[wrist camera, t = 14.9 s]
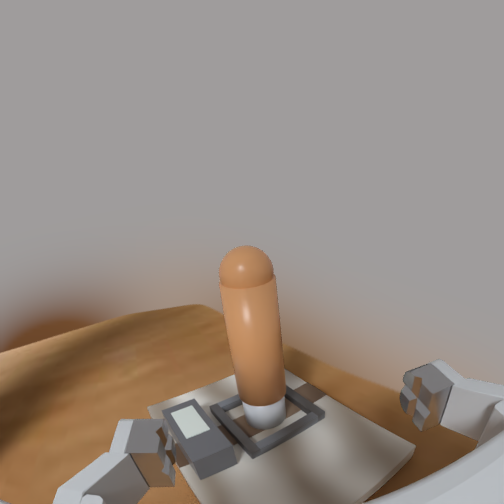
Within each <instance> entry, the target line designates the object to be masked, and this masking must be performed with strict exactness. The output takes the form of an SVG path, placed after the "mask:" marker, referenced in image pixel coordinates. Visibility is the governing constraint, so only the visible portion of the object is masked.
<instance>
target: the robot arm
mask: <svg viewBox="0 0 504 504" xmlns="http://www.w3.org/2000/svg"><path fill="white" fill-rule="evenodd" d="M403 382H404V383H405V386H404V387H403V389H402V390H401V393H400V403H401V406H402V408H403V410H404V411H405V413H406V414H409V415H412V416H413V419H412V421H413V423H414V424H415V425H416V426H417V427H418V429H419V430H420V431H421V432H422V431H425V430H427V429H429V428H432V427H434V426H436V425H438V424H440V425H441V426H444V427H446V428H448V429H451V430H453V431H455V432H458V433H460V434H462V435H465V436H467V437H469V438H472V439H474V440H477V441H478V443H477V445H476V447H475V449H474V450H473V451H471V452H470V453H468V454H467V455H465V456H463V457H462V458H460V459H458V460H456V461H455V462H453V463H451V464H449V465H448V466H446V467H444V468H442V469H440V470H438V471H436V472H435V473H433V474H431V475H429V476H427V477H425V478H423V479H420V480H418V481H416V482H414V483H412V484H410V485H408V486H405V487H403V488H401V489H398V490H396V491H394V492H391V493H389V494H386V495H384V496H381V497H379V498H376V499H373V500H370V501H368V502H365V503H362V504H504V385H500V384H495V383H490V382H484V381H480V380H475V379H471V378H467V379H465V378H464V377H462V376H461V375H460V374H459V373H458V372H456V371H455V370H454V369H453V368H452V367H450V366H449V365H448V364H447V363H446V362H444V361H443V360H441V359H438V360H435V361H433V362H430V363H428V364H426V365H423V366H420V367H418V368H415V369H412V370H410V371H407V372H406V373H405V375H404V377H403ZM168 429H169V426H168V424H167V422H166V420H165V419H121V420H120V421H119V422H118V425H117V428H116V431H115V435H114V438H113V441H112V444H111V448H110V451H109V453H104V454H102V455H101V456H100V457H99V458H97V459H96V460H95V461H93V462H92V463H91V464H90V465H88V466H87V467H86V468H84V469H83V470H82V471H80V472H79V473H78V474H76V475H75V476H74V477H72V478H71V479H70V480H68V481H67V482H66V483H64V484H63V485H62V486H60V487H59V488H58V490H57V493H56V496H55V498H54V501H53V504H137V503H138V502H139V501H140V499H141V498H142V497H143V496H144V495H145V493H146V492H147V491H148V490H149V489H150V488H149V487H175V469H174V467H173V464H174V463H175V462H176V446H175V442H174V439H173V437H172V436H171V435H170V434H168ZM0 504H11V503H8V502H6V501H3V500H0Z"/></svg>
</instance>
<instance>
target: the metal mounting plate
mask: <svg viewBox="0 0 504 504" xmlns="http://www.w3.org/2000/svg"><path fill="white" fill-rule="evenodd" d="M284 370H285V381H286V394H285V395H284V397H285V408H286V418H285V420H284V421H283V422H282V423H281V424H280V425H279V426H277V427H275V428H272V429H266V430H261V429H256V428H253V427H251V426H250V425H249V424H248V423H247V422H246V418H245V413H244V408H243V403H242V400H241V399H240V398H239V394H238V389H237V384H236V379H235V374H234V375H232V376H229V377H227V378H224V379H222V380H220V381H217V382H215V383H212V384H209V385H207V386H204V387H202V388H199V389H196V390H194V391H191V392H188V393H186V394H183V395H180V396H178V397H175V398H172V399H169V400H166V401H163V402H160V403H158V404H155V405H152V406H149V407H147V408H148V411H149V413H150V416H151V418H152V419H164V416H163V413H162V411H161V410H164V409H167V408H170V407H173V406H175V405H178V404H181V403H184V402H186V401H189V400H192V399H194V398H195V400H196V401H197V402H198V404H199V405H200V406H201V407H202V409H203V410H204V411H205V413H206V414H207V415H208V416H209V417H210V419H211V420H212V421H213V422H214V424H215V425H216V426H217V427H218V428H219V430H220V431H221V432H222V433H223V434H224V436H225V437H226V438H227V439H228V440H229V441H230V443H231V444H232V445H233V448H234V452H235V456H236V459H237V463H238V464H236V465H234V466H232V467H230V468H227V469H225V470H223V471H221V472H219V473H216V474H214V475H212V476H209V477H207V478H205V479H202V480H200V479H199V477H198V476H197V474H196V473H195V471H194V470H193V468H192V467H191V465H190V464H189V462H188V460H187V459H186V457H185V456H184V454H183V452H182V451H181V449H180V448H179V446H178V444H177V443H176V441H175V439H174V438H173V439H174V442H175V446H176V462H175V463H176V465H177V466H178V468H179V470H180V472H181V473H182V475H183V477H184V478H185V480H186V481H187V483H188V485H189V486H190V488H191V489H192V491H193V493H194V494H195V496H196V497H197V499H198V500H199V502H200V503H201V504H362V503H363V502H364V501H366V500H367V499H368V498H369V497H370V496H371V495H373V494H374V493H375V492H376V491H377V490H378V489H379V488H381V487H382V486H383V485H384V484H385V483H386V482H387V481H388V480H389V479H390V478H391V477H392V476H394V475H395V474H396V473H397V472H398V471H399V470H400V469H401V468H402V467H403V466H404V465H405V464H406V463H407V462H408V461H409V460H410V459H411V458H412V456H413V453H414V450H415V447H416V445H414V444H412V443H410V442H408V441H406V440H404V439H403V438H401V437H399V436H397V435H395V434H393V433H391V432H390V431H388V430H386V429H384V428H382V427H380V426H379V425H377V424H375V423H373V422H372V421H370V420H368V419H366V418H364V417H363V416H361V415H359V414H358V413H356V412H354V411H352V410H351V409H349V408H347V407H346V406H344V405H342V404H341V403H339V402H337V401H336V400H334V399H332V398H331V397H329V396H327V395H326V394H325V393H324V392H322V391H320V390H319V389H317V388H316V387H314V386H312V385H311V384H309V383H308V382H307V383H306V382H305V381H303V380H302V379H300V378H299V377H297V376H296V375H294V374H292V373H291V372H289V371H288V370H286V369H285V368H284ZM168 434H170V435H171V436H172V434H171V432H170V431H169V429H168ZM172 437H173V436H172Z"/></svg>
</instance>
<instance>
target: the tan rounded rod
mask: <svg viewBox="0 0 504 504" xmlns="http://www.w3.org/2000/svg"><path fill="white" fill-rule="evenodd" d="M219 277H220V282H219V286H220V293H221V299H222V305H223V311H224V317H225V323H226V329H227V335H228V340H229V346H230V352H231V357H232V363H233V368H234V373H235V379H236V384H237V389H238V394H239V398H240V399H241V400H242V403H243V408H244V413H245V418H246V422H247V423H248V424H249V425H250V426H251V427H253V428H256V429H261V430H266V429H272V428H275V427H277V426H279V425H280V424H281V423H282V422H283V421H284V420H285V418H286V408H285V397H284V395H285V394H286V381H285V370H284V359H283V348H282V337H281V327H280V316H279V306H278V297H277V286H276V277H275V275H274V274H273V266H272V263H271V260H270V259H269V257H268V256H267V255H266V254H265V253H264V252H263V251H262V250H260V249H258V248H256V247H253V246H240V247H237V248H234V249H232V250H231V251H230V252H228V253H227V254H226V256H225V257H224V258H223V260H222V262H221V264H220V268H219Z"/></svg>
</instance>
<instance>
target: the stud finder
mask: <svg viewBox="0 0 504 504" xmlns="http://www.w3.org/2000/svg"><path fill="white" fill-rule="evenodd" d="M161 411H162V413H163V416H164V419H165V420H166V422H167V424H168V426H169V431H170V432H171V434H172V436H173V438H174V439H175V441H176V443H177V444H178V446H179V448H180V449H181V451H182V452H183V454H184V456H185V457H186V459H187V460H188V462H189V464H190V465H191V467H192V468H193V470H194V471H195V473H196V474H197V476H198V477H199V479H200V480H202V479H205V478H207V477H209V476H212V475H214V474H216V473H219V472H221V471H223V470H225V469H227V468H230V467H232V466H234V465H236V464H238V463H237V459H236V456H235V452H234V448H233V445H232V444H231V443H230V441H229V440H228V439H227V438H226V437H225V436H224V434H223V433H222V432H221V431H220V430H219V428H218V427H217V426H216V425H215V424H214V422H213V421H212V420H211V419H210V417H209V416H208V415H207V414H206V413H205V411H204V410H203V409H202V407H201V406H200V405H199V404H198V402H197V401H196V400H195V398H194V399H192V400H189V401H186V402H184V403H181V404H178V405H175V406H173V407H170V408H167V409H164V410H161Z"/></svg>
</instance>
